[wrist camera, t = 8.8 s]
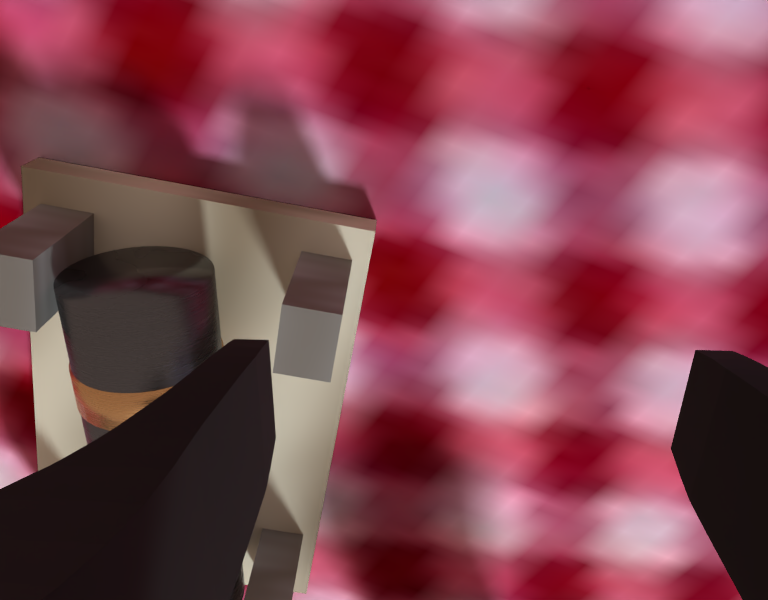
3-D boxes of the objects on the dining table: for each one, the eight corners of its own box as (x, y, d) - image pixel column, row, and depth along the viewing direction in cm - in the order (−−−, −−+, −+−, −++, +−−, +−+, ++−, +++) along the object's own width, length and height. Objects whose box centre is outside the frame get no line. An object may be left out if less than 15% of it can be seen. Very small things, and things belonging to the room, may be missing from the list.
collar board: (376, 219, 20) (369, 282, 16) (309, 572, 26) (292, 680, 22) (38, 157, 19) (-58, 205, 15) (55, 533, 26) (-10, 636, 22)
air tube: (256, 548, 25) (231, 649, 21) (145, 545, 25) (102, 645, 21) (231, 247, 19) (192, 312, 16) (90, 243, 19) (19, 307, 16)
